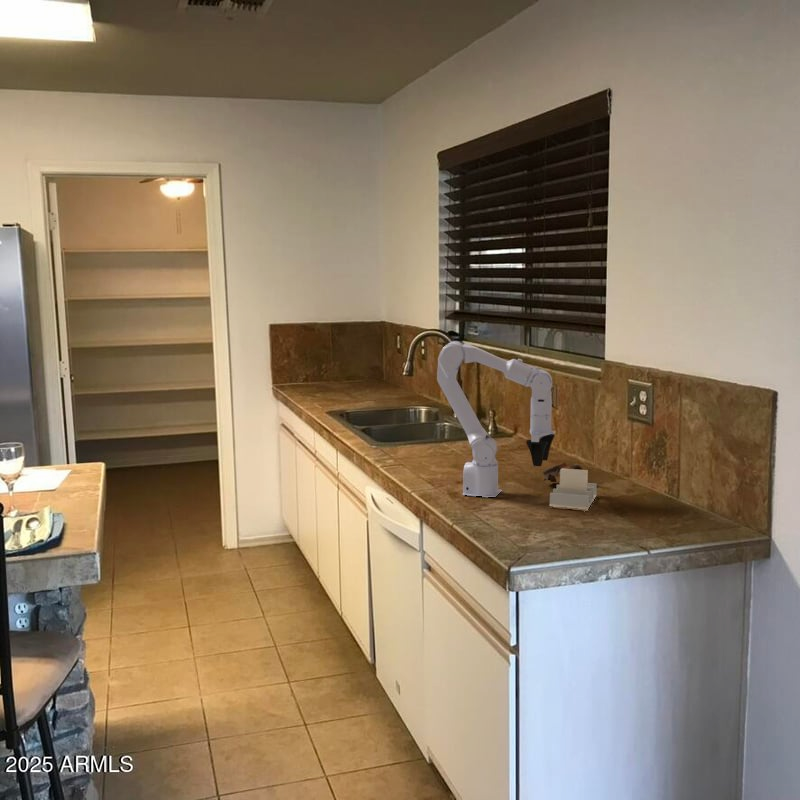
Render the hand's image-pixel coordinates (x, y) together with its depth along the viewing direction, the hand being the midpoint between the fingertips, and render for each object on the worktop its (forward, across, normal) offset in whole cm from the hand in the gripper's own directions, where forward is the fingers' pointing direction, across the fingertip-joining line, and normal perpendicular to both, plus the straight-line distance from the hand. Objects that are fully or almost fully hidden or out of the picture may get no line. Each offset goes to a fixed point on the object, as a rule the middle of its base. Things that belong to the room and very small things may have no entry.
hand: (540, 462), depth 240 cm
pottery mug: (+10, +13, -4) cm, 16 cm away
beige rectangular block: (+8, -4, -10) cm, 14 cm away
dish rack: (+9, -4, -10) cm, 14 cm away
